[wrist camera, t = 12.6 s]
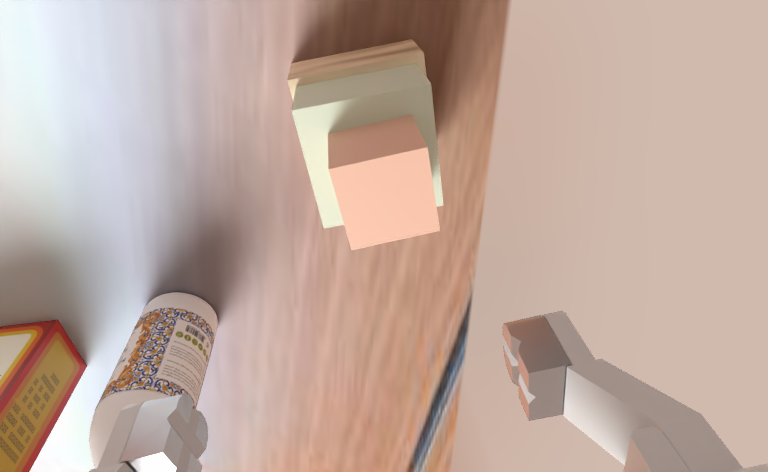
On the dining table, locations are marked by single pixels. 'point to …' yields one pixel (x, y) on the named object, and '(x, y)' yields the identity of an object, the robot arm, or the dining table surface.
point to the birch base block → (355, 63)
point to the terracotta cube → (383, 182)
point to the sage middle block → (360, 121)
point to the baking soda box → (33, 388)
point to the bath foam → (157, 361)
